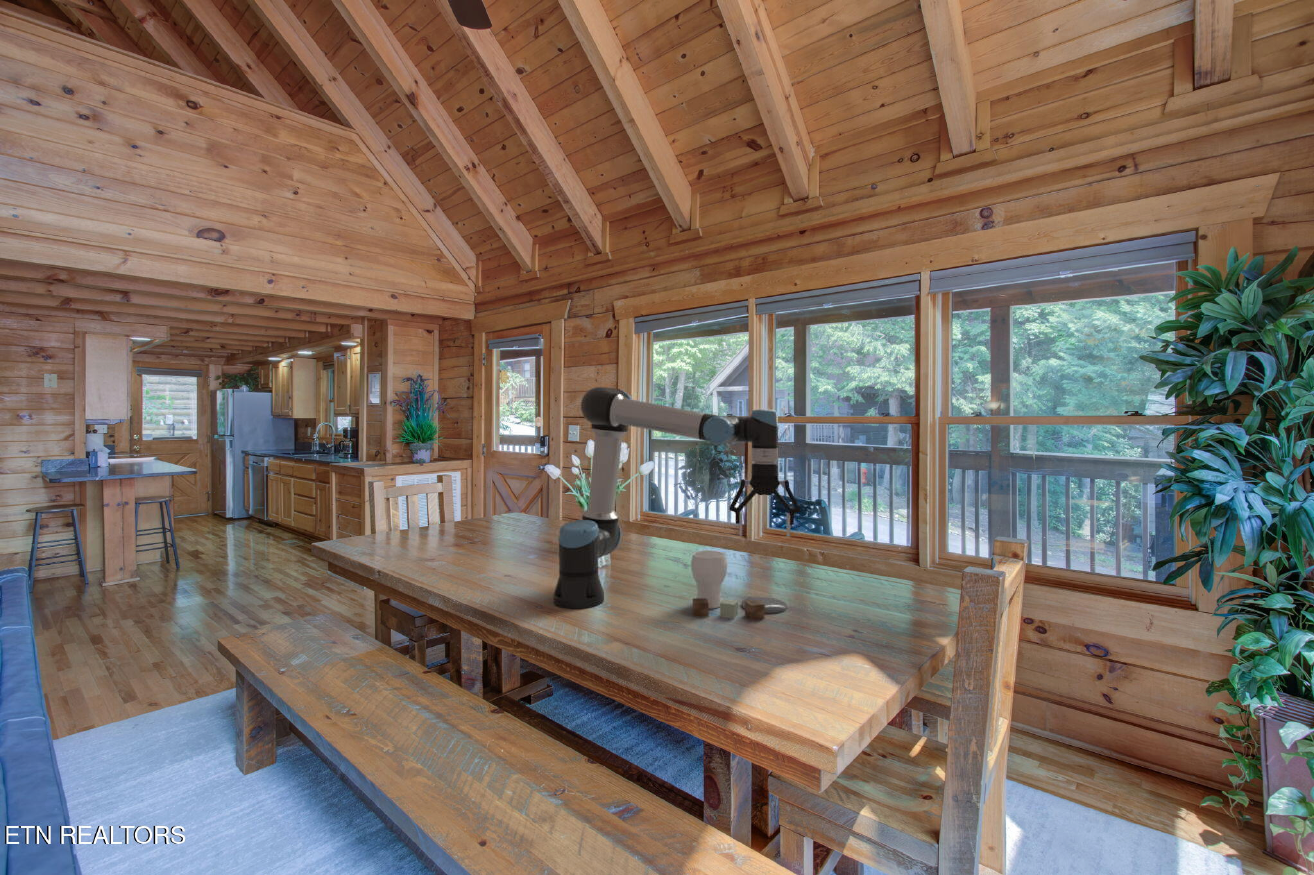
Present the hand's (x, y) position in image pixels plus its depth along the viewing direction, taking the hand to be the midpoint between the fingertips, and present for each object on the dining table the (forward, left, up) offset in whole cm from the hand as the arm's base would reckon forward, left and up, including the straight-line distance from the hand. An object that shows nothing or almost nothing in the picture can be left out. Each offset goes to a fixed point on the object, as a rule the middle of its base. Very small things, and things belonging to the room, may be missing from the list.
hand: (764, 535), depth 170 cm
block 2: (-10, -9, -21) cm, 25 cm away
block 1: (-18, -9, -21) cm, 29 cm away
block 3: (-3, -9, -21) cm, 23 cm away
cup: (-16, 0, -21) cm, 26 cm away
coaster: (0, +1, -21) cm, 21 cm away
